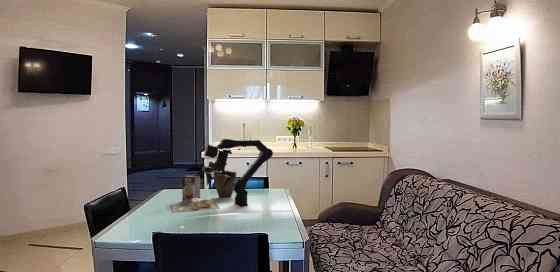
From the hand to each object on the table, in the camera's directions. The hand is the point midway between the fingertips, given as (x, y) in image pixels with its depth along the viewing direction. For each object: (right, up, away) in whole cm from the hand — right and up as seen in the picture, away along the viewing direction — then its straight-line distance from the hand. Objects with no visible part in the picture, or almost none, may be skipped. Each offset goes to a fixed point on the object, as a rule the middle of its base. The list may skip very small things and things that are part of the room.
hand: (215, 186), depth 223 cm
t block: (-7, -11, -2) cm, 13 cm away
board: (-11, -12, -3) cm, 17 cm away
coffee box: (-17, -12, +14) cm, 25 cm away
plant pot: (+2, -11, +27) cm, 30 cm away
